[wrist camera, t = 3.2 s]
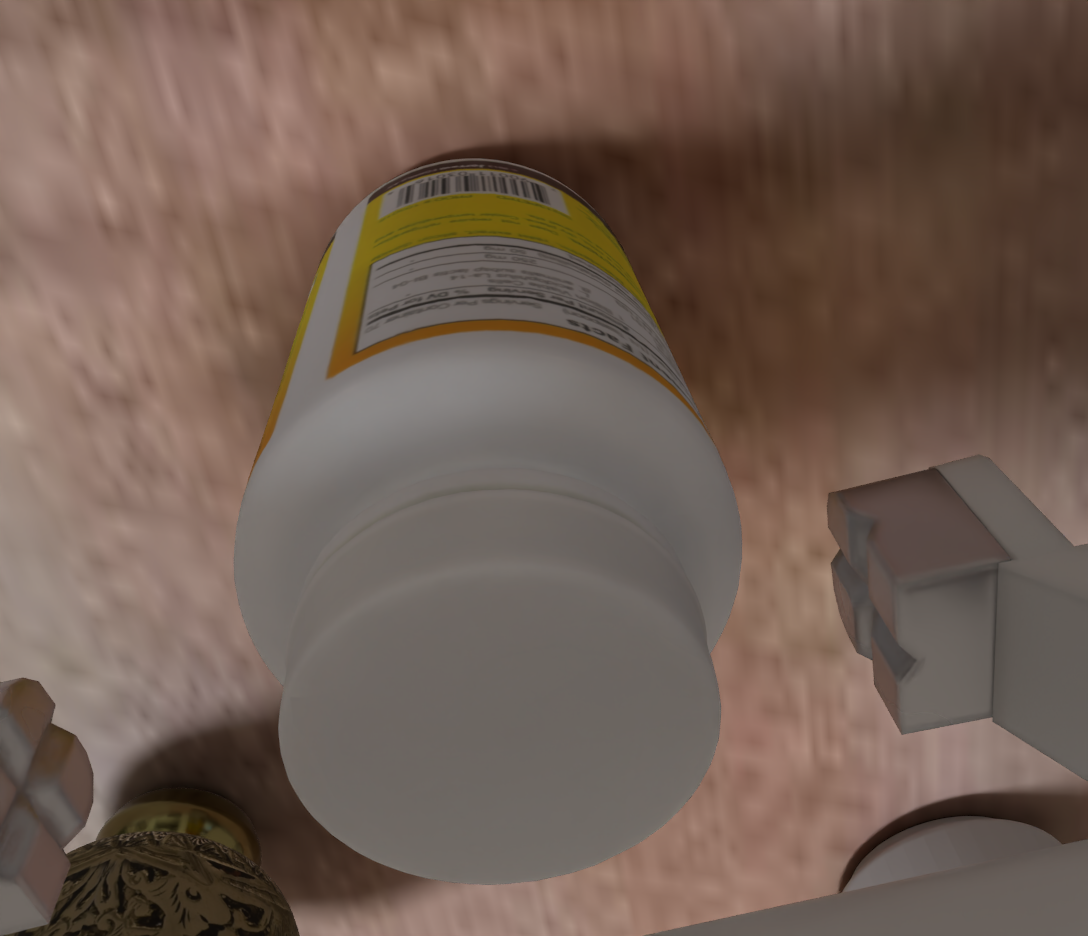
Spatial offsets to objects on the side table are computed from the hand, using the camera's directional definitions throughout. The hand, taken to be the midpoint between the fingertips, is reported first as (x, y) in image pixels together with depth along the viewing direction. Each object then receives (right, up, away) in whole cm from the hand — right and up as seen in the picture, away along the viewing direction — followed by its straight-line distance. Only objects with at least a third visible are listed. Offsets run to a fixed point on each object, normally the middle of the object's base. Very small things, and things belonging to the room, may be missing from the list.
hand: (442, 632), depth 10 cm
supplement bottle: (0, +5, +8) cm, 9 cm away
